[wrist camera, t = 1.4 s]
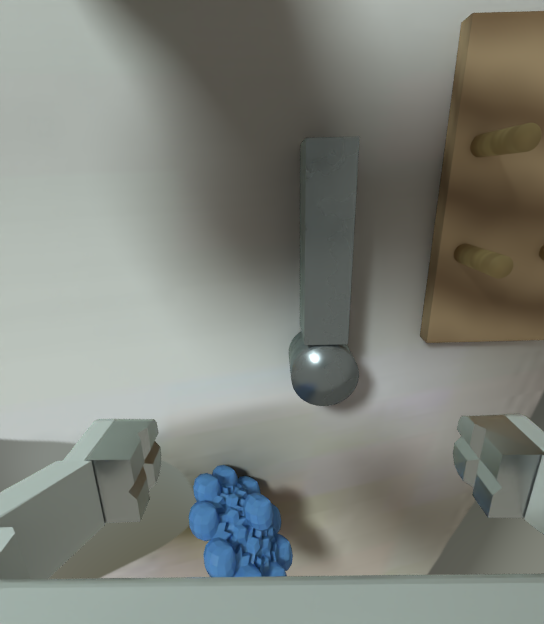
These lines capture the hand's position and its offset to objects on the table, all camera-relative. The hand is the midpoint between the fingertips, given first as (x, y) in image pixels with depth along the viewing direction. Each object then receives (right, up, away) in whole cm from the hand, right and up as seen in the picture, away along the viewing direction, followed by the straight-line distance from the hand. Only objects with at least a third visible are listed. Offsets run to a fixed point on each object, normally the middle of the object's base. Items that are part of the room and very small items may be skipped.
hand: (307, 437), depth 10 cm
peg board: (+18, +13, +19) cm, 29 cm away
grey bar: (+3, +7, +21) cm, 23 cm away
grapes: (-3, -14, +29) cm, 33 cm away
